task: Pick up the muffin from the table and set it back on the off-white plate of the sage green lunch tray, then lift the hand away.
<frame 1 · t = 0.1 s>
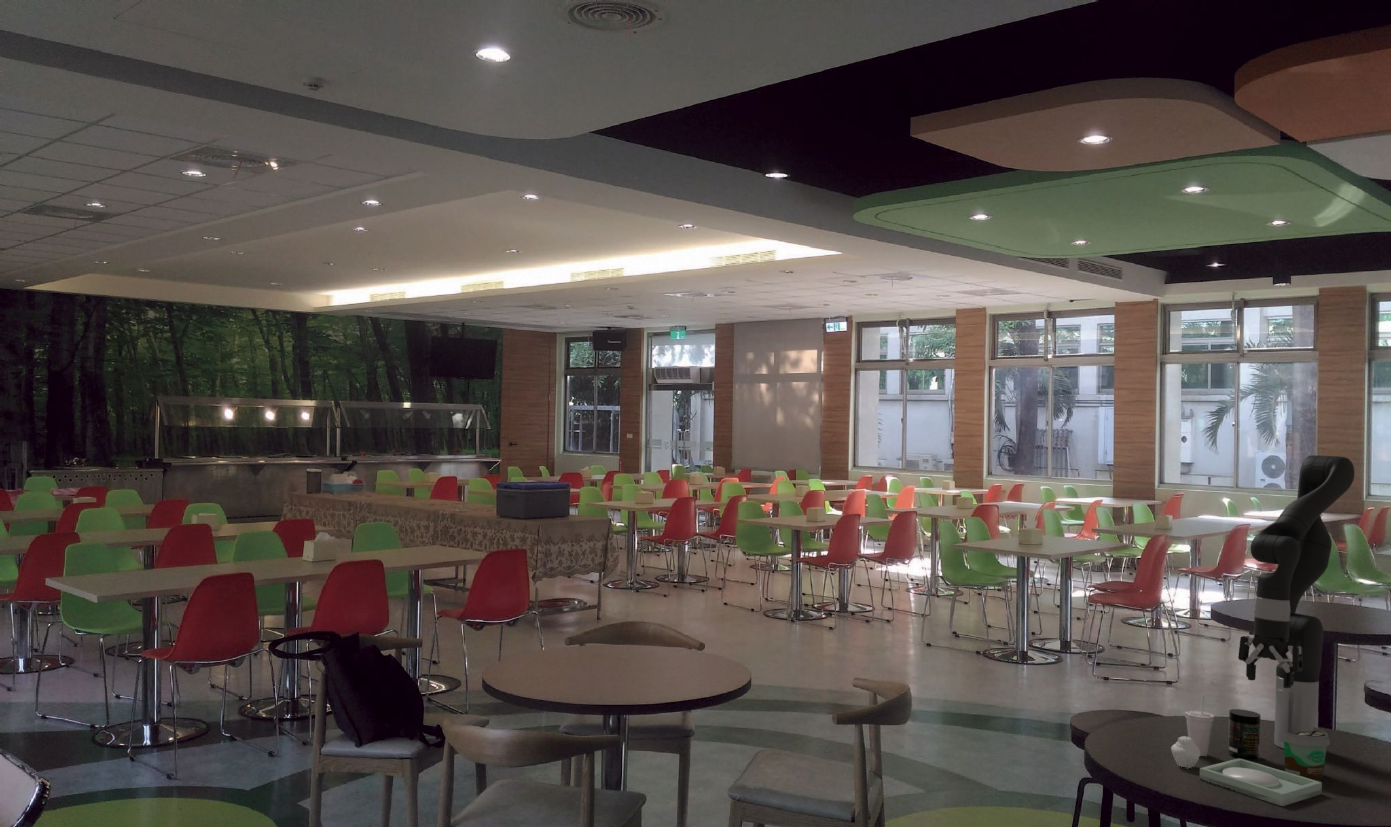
hand: (1269, 683, 246), 17 cm above the table, tool pointing down, fingers open, 8 cm apart
smoothie: (1198, 755, 244), on the table
food container: (1311, 778, 230), on the table
supplement container: (1243, 757, 244), on the table
lunch tray: (1259, 786, 222), on the table
muffin: (1185, 767, 234), on the table
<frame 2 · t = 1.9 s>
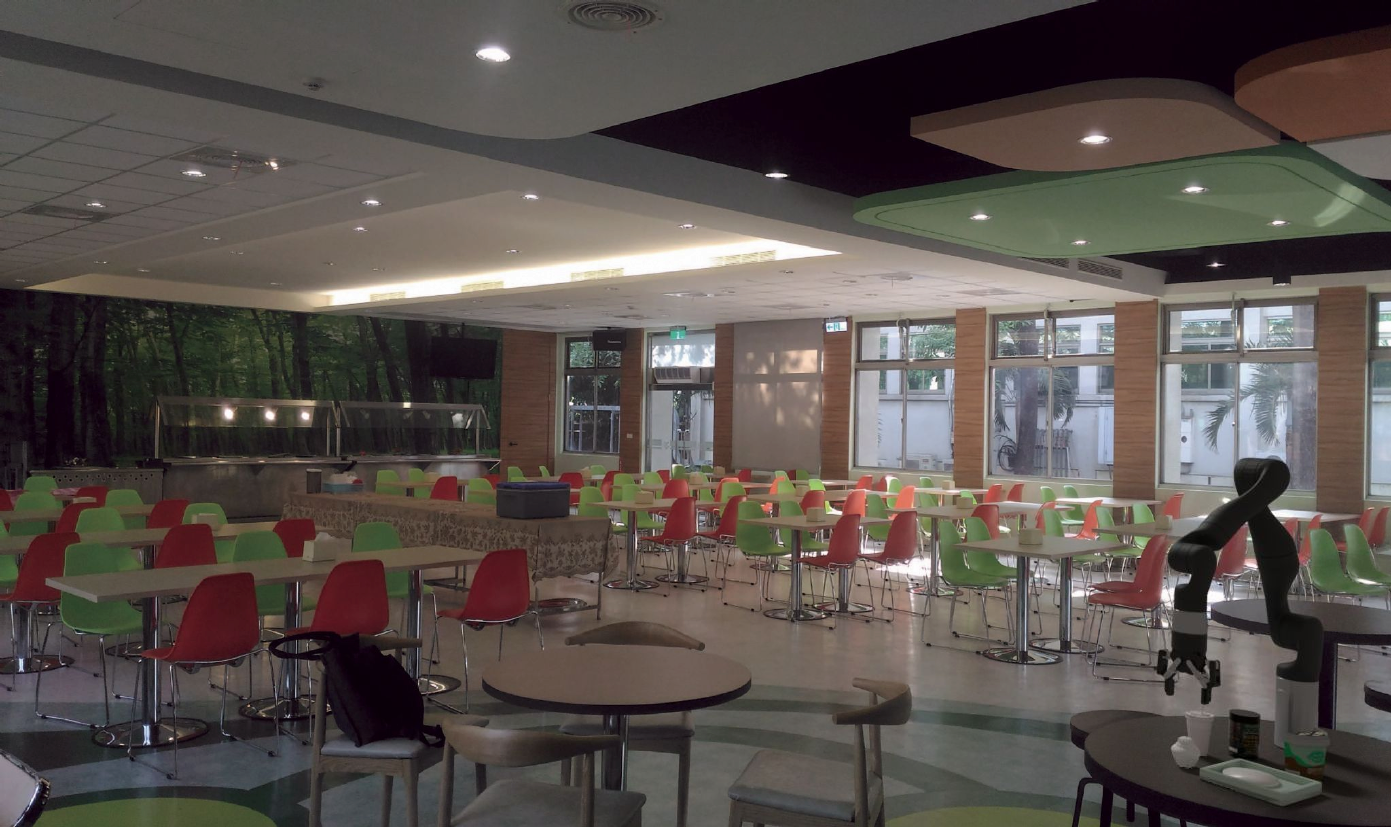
hand: (1187, 699, 234), 15 cm above the table, tool pointing down, fingers open, 8 cm apart
nothing on the table moved.
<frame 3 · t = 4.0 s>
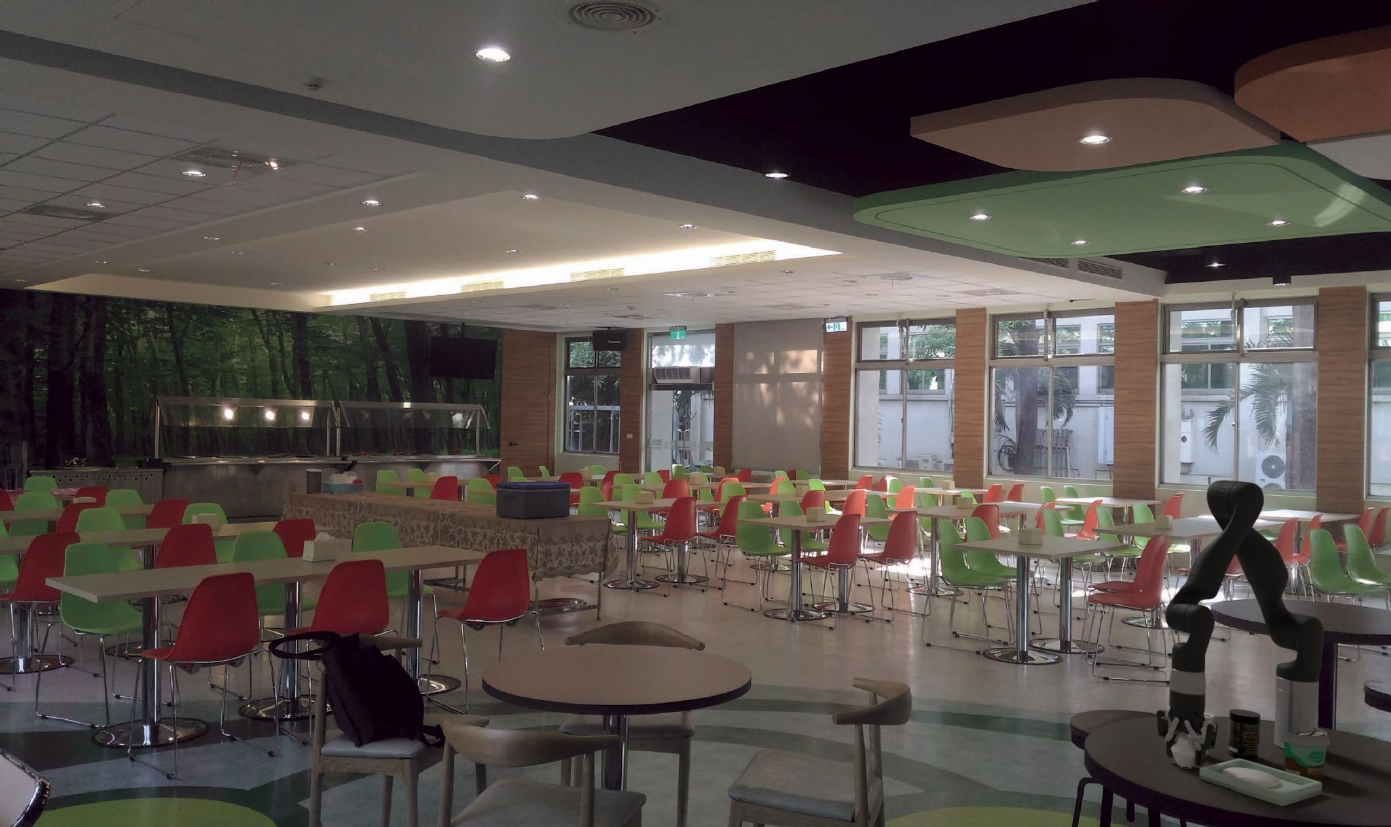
hand: (1185, 761, 234), 1 cm above the table, tool pointing down, fingers closed on muffin, 6 cm apart
muffin: (1185, 767, 234), on the table, touching gripper
everything else where it was.
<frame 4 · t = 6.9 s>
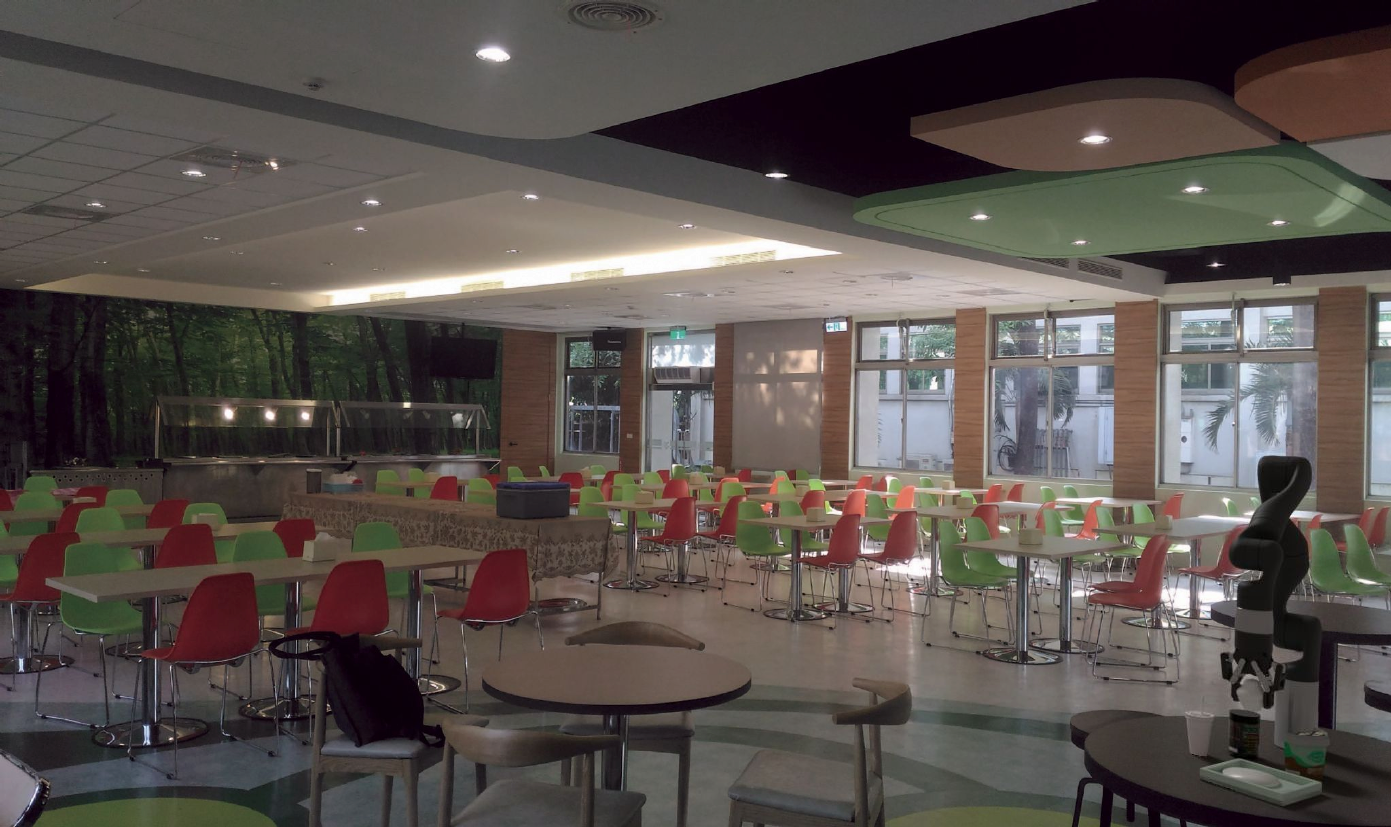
hand: (1251, 704, 224), 17 cm above the table, tool pointing down, fingers closed on muffin, 6 cm apart
muffin: (1251, 710, 224), point 16 cm above the table, touching gripper
everything else where it was.
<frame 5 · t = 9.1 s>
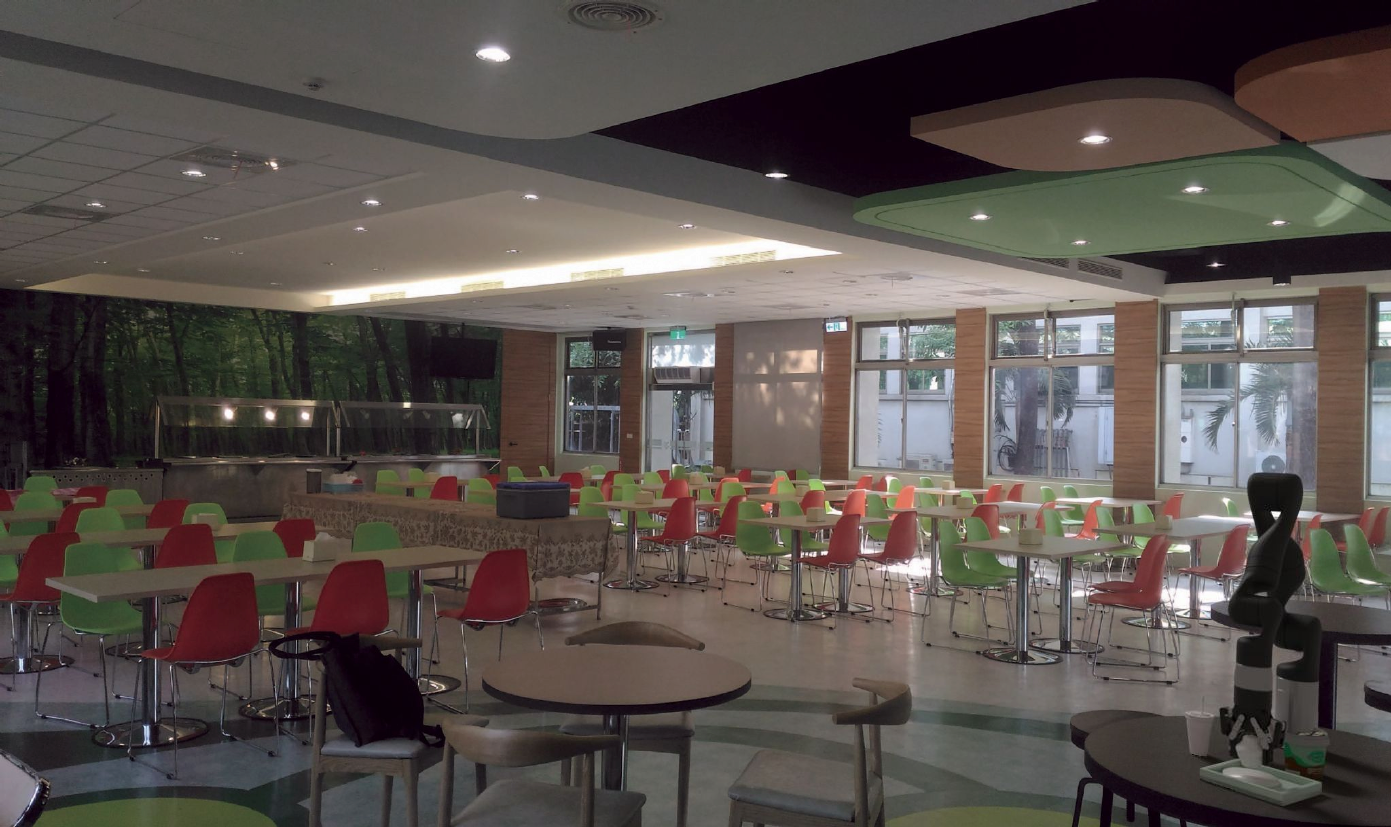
hand: (1251, 760, 224), 5 cm above the table, tool pointing down, fingers closed on muffin, 6 cm apart
muffin: (1250, 767, 224), point 4 cm above the table, touching gripper
everything else where it was.
when the fingers open (4 cm above the table, at t = 10.0 s): muffin drops 1 cm, resting on lunch tray.
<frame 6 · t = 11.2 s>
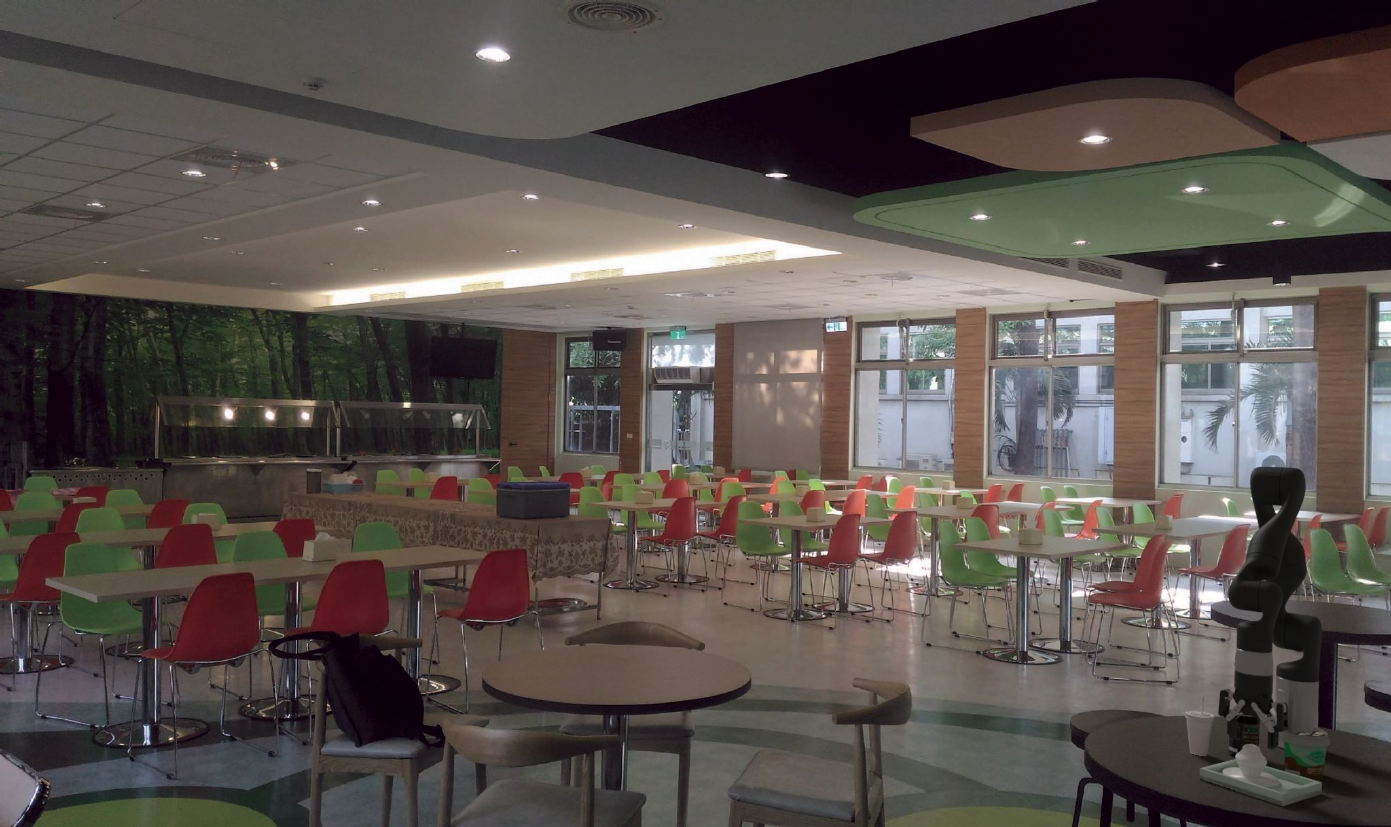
hand: (1252, 743, 224), 9 cm above the table, tool pointing down, fingers open, 8 cm apart
muffin: (1250, 776, 224), point 2 cm above the table, touching lunch tray
everything else where it was.
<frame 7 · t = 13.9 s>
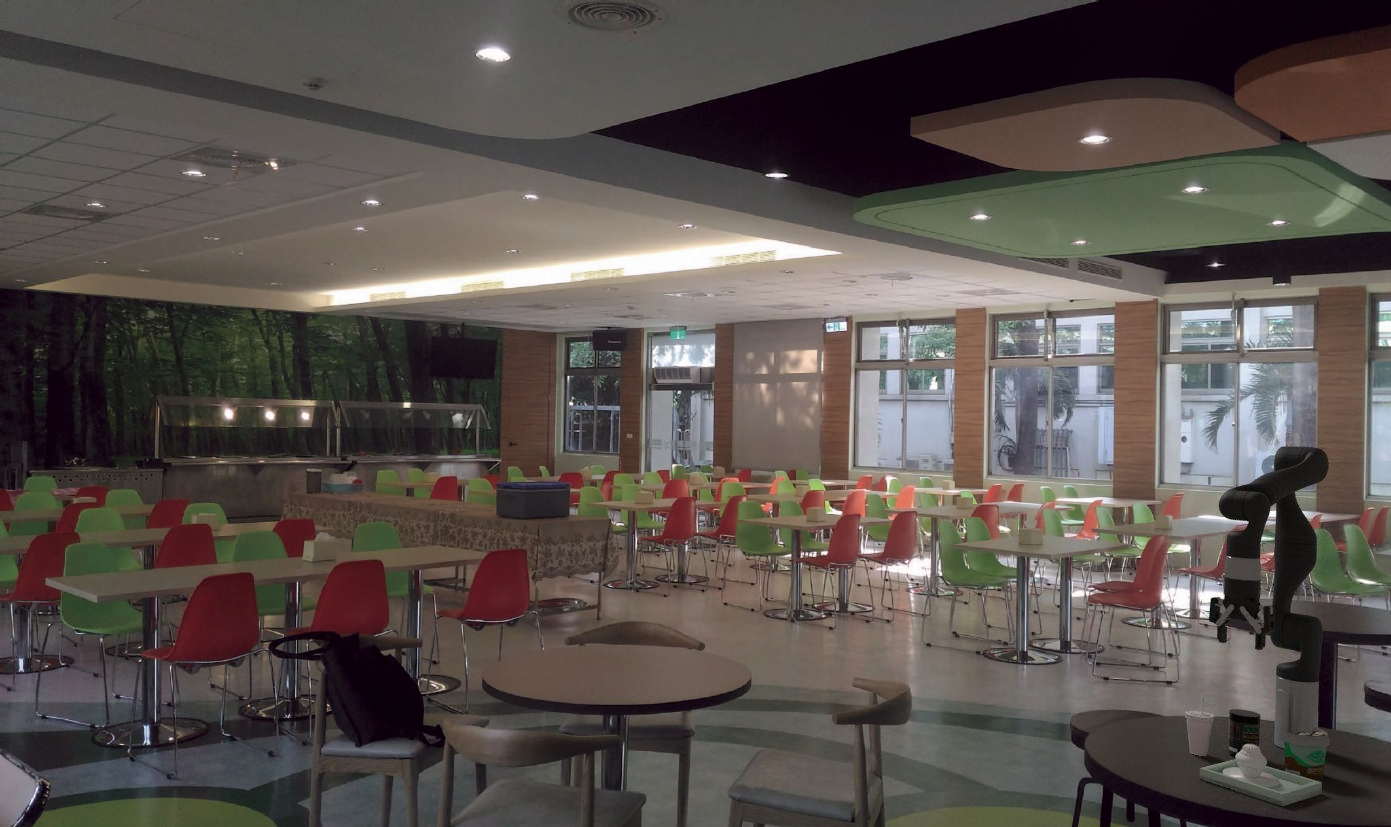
hand: (1240, 646, 236), 28 cm above the table, tool pointing down, fingers open, 8 cm apart
nothing on the table moved.
at the end: muffin inside the target area on the lunch tray (0.1 cm from its centre), point 1.6 cm above the lunch tray's base; muffin tilted 0°; the gripper is holding nothing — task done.
